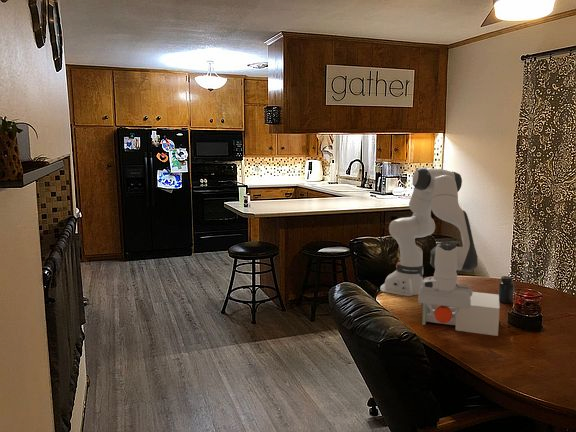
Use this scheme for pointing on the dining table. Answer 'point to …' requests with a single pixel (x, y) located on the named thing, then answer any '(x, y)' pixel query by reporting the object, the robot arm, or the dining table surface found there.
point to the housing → (480, 315)
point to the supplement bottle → (506, 290)
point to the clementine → (443, 314)
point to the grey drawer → (431, 318)
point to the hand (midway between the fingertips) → (443, 315)
